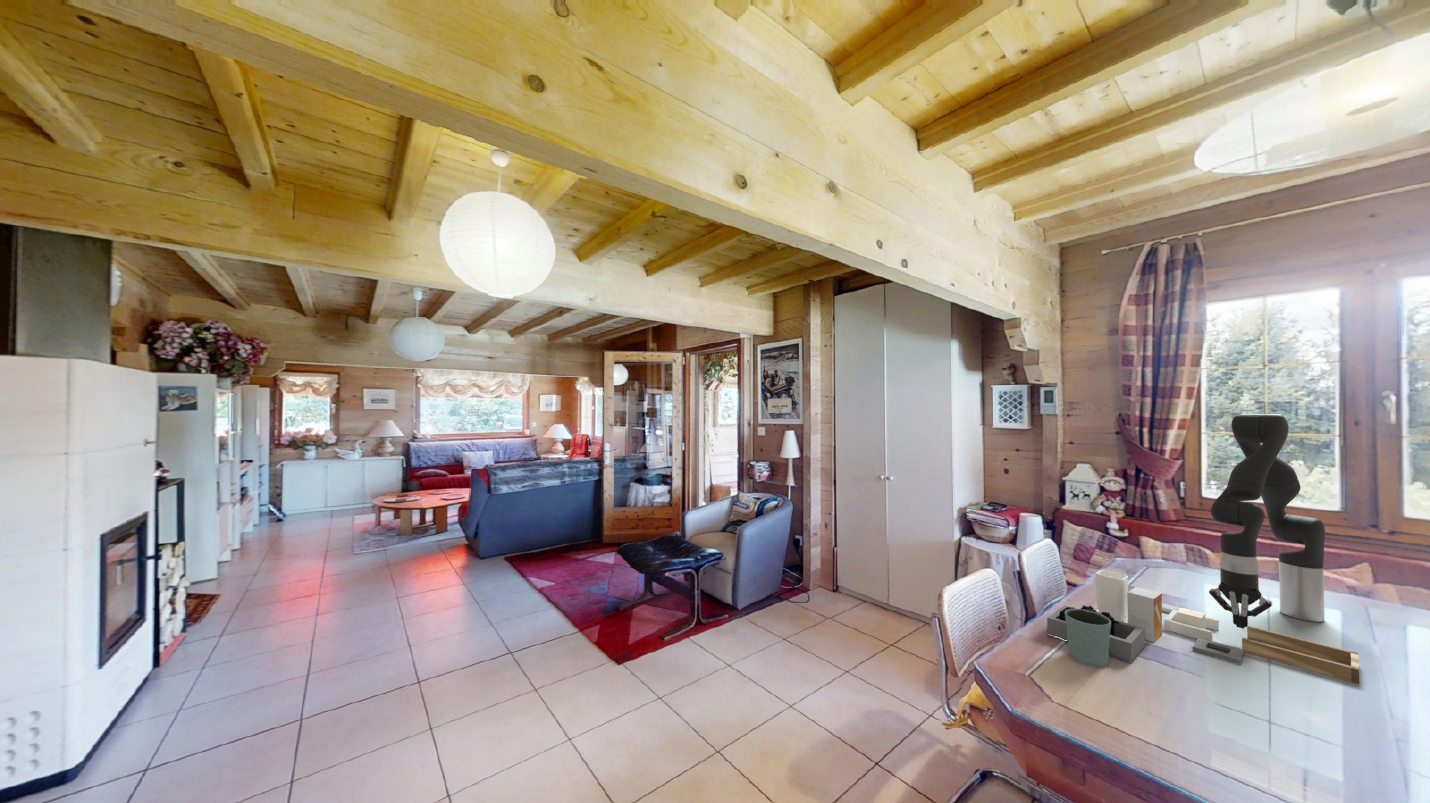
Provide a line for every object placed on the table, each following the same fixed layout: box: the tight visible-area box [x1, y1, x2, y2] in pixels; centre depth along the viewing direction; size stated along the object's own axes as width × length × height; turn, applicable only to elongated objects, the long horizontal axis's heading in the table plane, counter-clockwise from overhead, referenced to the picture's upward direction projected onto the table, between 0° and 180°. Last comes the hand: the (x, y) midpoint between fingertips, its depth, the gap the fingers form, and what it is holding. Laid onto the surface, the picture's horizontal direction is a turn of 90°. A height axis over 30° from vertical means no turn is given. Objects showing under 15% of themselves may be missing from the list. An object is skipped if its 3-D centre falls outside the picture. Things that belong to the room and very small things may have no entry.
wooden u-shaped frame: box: [1241, 625, 1361, 685], centre depth 129 cm, size 13×20×4 cm
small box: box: [1127, 586, 1163, 643], centre depth 142 cm, size 8×6×13 cm
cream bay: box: [1163, 608, 1220, 641], centre depth 145 cm, size 13×10×3 cm
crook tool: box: [1162, 606, 1174, 614], centre depth 154 cm, size 4×13×1 cm, turn 44°
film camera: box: [1059, 605, 1120, 636], centre depth 138 cm, size 15×10×9 cm, turn 78°
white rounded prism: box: [1095, 569, 1129, 622], centre depth 153 cm, size 7×7×15 cm
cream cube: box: [1177, 607, 1206, 630], centre depth 145 cm, size 6×6×6 cm
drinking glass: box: [1065, 608, 1111, 668], centre depth 129 cm, size 10×10×12 cm
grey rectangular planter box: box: [1046, 605, 1146, 664], centre depth 139 cm, size 15×20×6 cm
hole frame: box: [1192, 637, 1245, 665], centre depth 132 cm, size 9×9×1 cm
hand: (1240, 626), depth 137 cm, fingers closed
